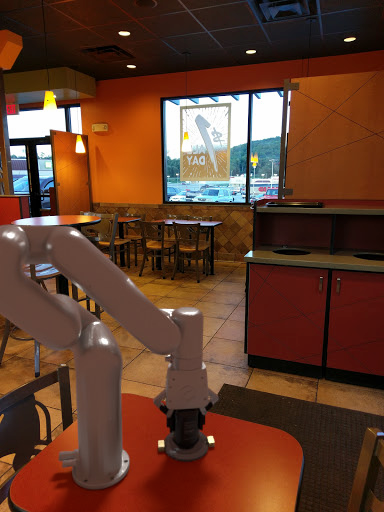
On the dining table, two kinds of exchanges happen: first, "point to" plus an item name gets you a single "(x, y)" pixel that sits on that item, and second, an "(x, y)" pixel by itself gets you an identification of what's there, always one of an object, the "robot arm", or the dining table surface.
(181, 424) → the supplement bottle
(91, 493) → the dining table surface
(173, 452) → the base
